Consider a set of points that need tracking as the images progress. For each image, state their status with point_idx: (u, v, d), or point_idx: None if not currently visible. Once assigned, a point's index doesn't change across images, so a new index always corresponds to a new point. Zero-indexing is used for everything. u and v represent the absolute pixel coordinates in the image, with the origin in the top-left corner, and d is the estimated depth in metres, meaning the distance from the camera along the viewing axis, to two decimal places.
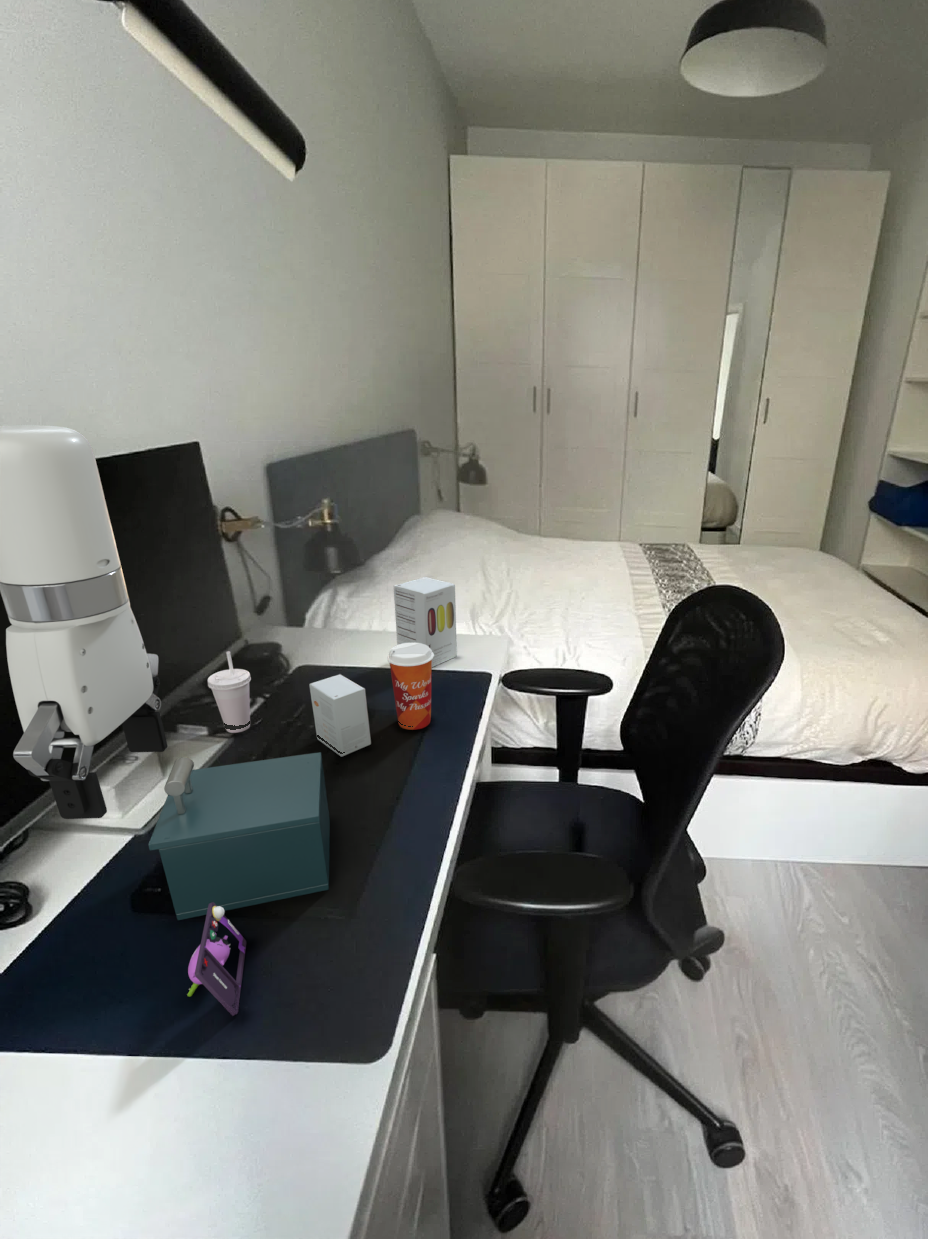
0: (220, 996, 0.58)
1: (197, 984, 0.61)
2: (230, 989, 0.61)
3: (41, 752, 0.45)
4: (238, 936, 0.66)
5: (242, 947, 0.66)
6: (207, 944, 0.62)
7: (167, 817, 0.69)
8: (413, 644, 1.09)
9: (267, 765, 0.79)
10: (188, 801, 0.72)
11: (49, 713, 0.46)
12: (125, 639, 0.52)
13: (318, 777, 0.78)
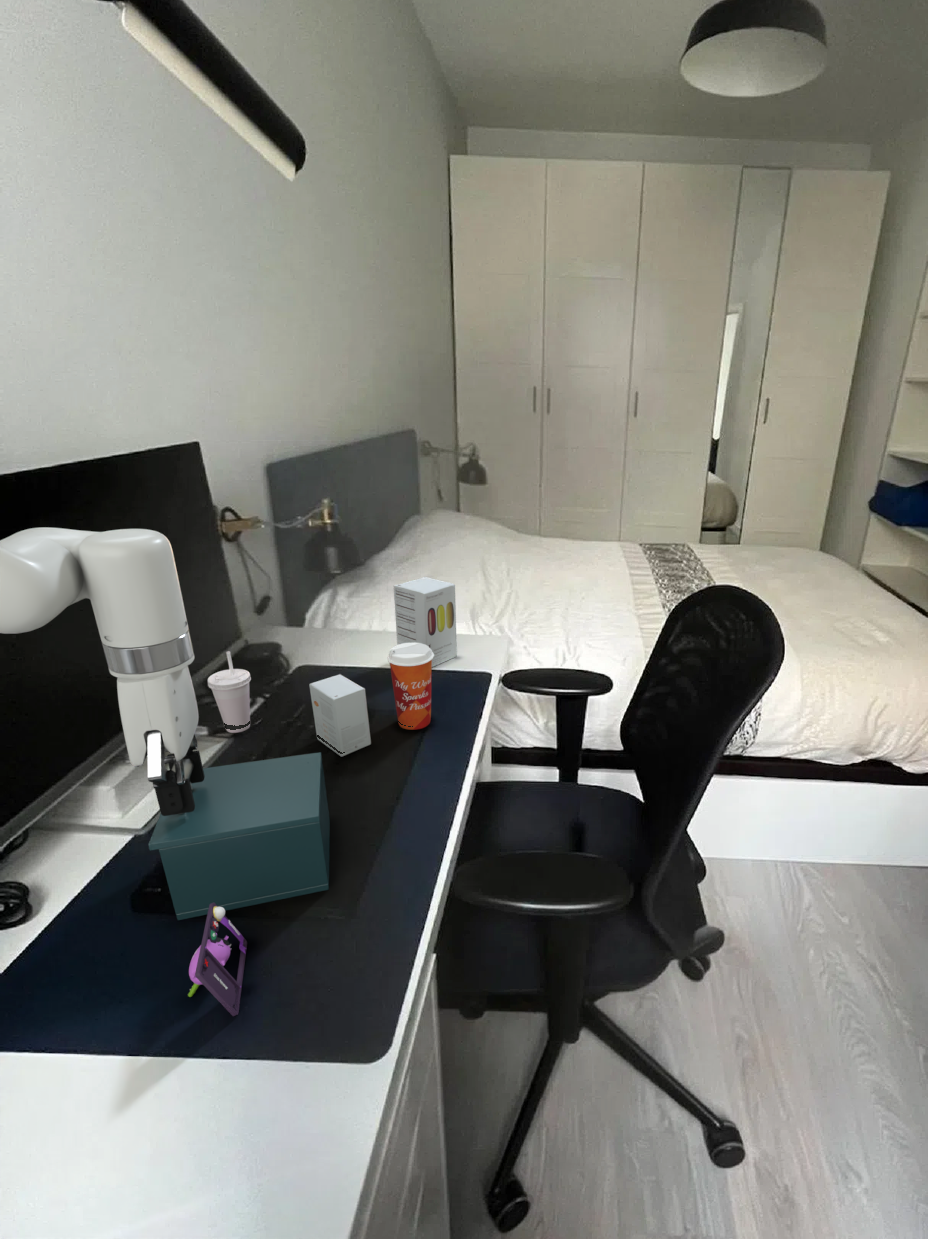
0: (221, 997, 0.58)
1: (198, 984, 0.61)
2: (231, 990, 0.61)
3: (163, 772, 0.64)
4: (239, 936, 0.66)
5: (242, 948, 0.66)
6: (208, 944, 0.62)
7: (167, 817, 0.69)
8: (413, 644, 1.09)
9: (267, 765, 0.79)
10: None
11: (158, 744, 0.64)
12: (188, 680, 0.69)
13: (318, 777, 0.78)
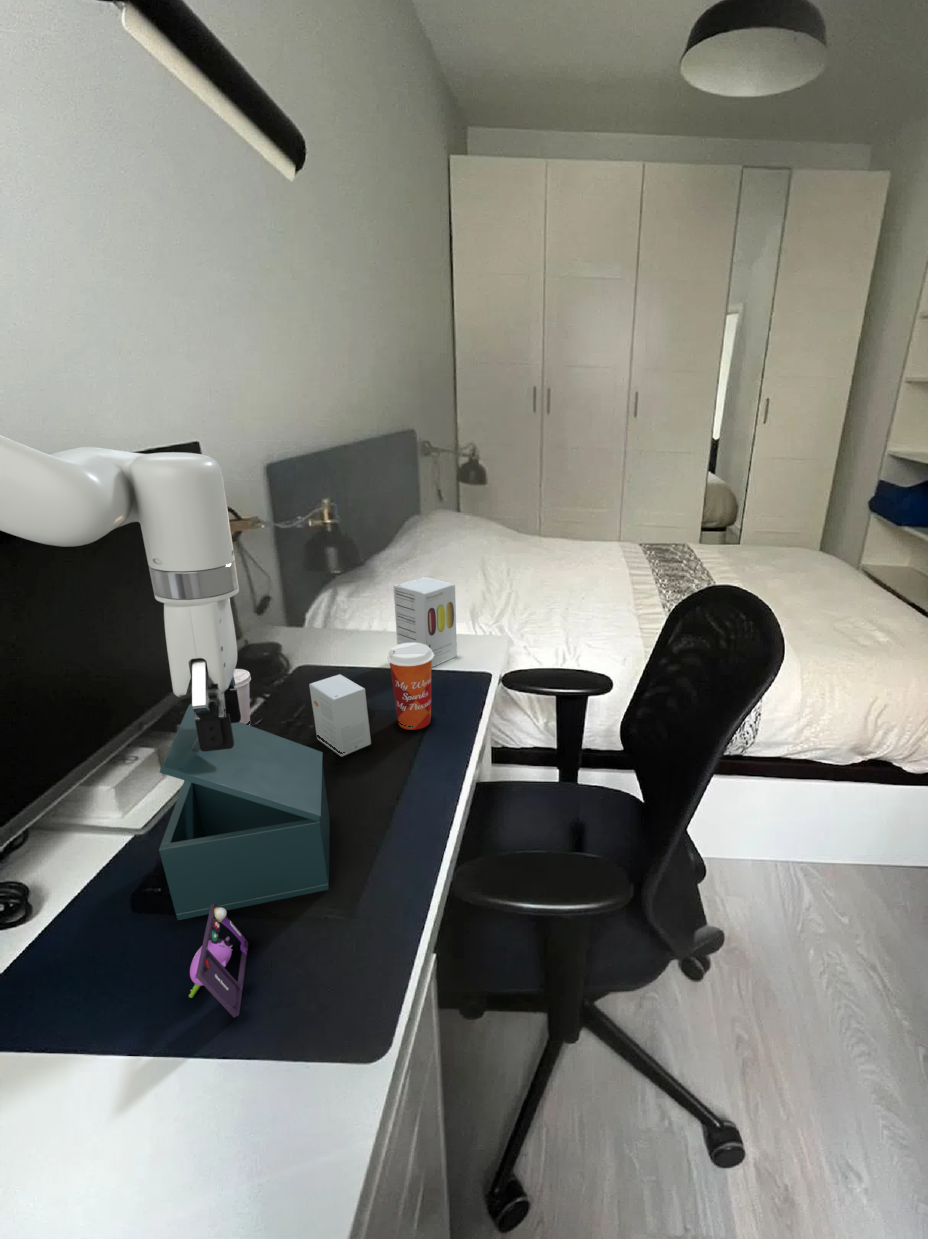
0: (221, 998, 0.58)
1: (199, 985, 0.61)
2: (231, 991, 0.61)
3: (207, 702, 0.63)
4: (240, 937, 0.66)
5: (244, 948, 0.66)
6: (209, 945, 0.62)
7: (181, 747, 0.67)
8: (413, 644, 1.09)
9: (274, 740, 0.79)
10: None
11: (202, 673, 0.62)
12: (231, 613, 0.68)
13: (320, 776, 0.78)
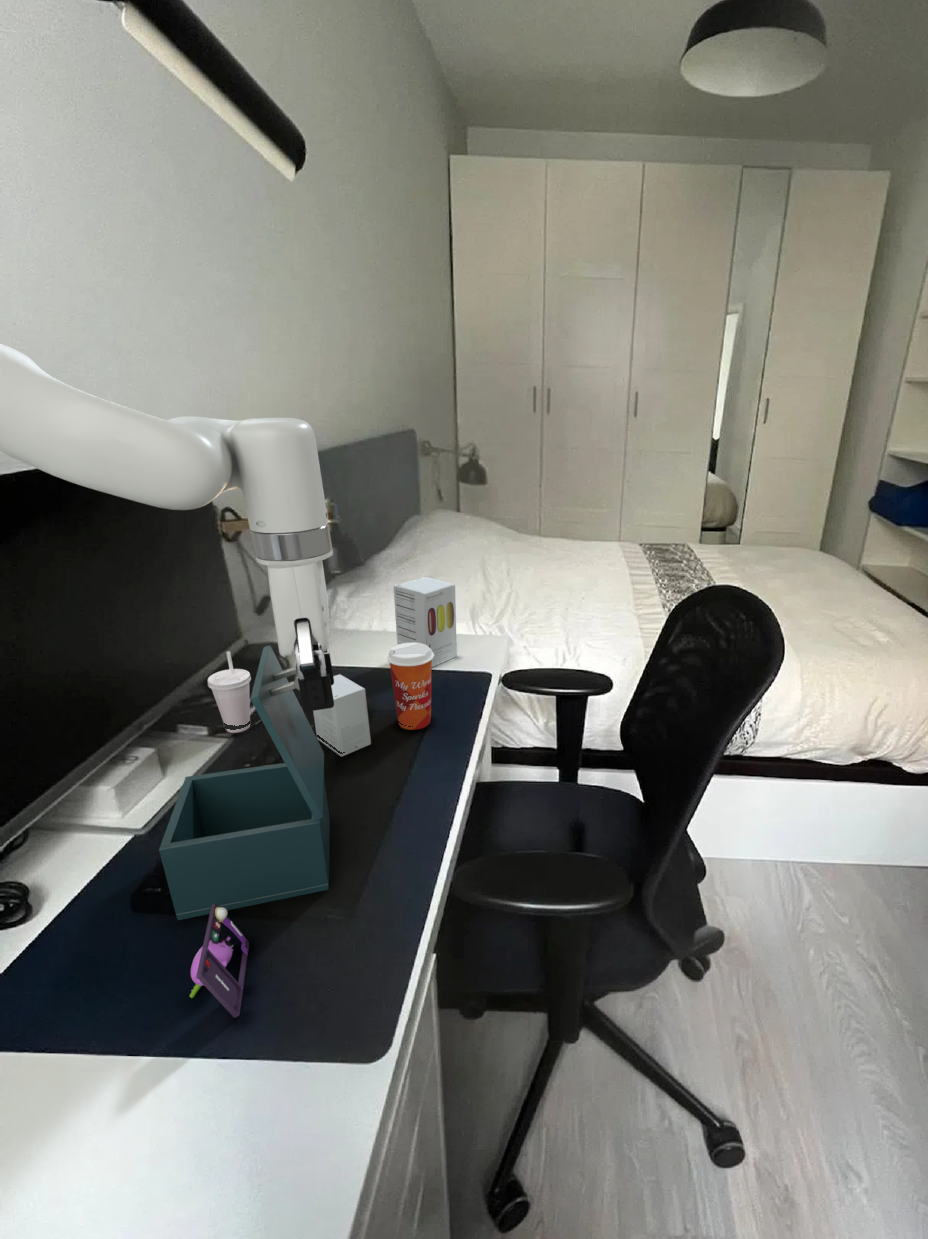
0: (222, 998, 0.58)
1: (199, 985, 0.61)
2: (232, 991, 0.61)
3: (313, 660, 0.65)
4: (241, 937, 0.66)
5: (244, 949, 0.66)
6: (210, 945, 0.62)
7: (266, 684, 0.68)
8: (413, 644, 1.09)
9: (304, 720, 0.79)
10: (274, 686, 0.71)
11: (307, 632, 0.64)
12: None
13: (323, 777, 0.78)
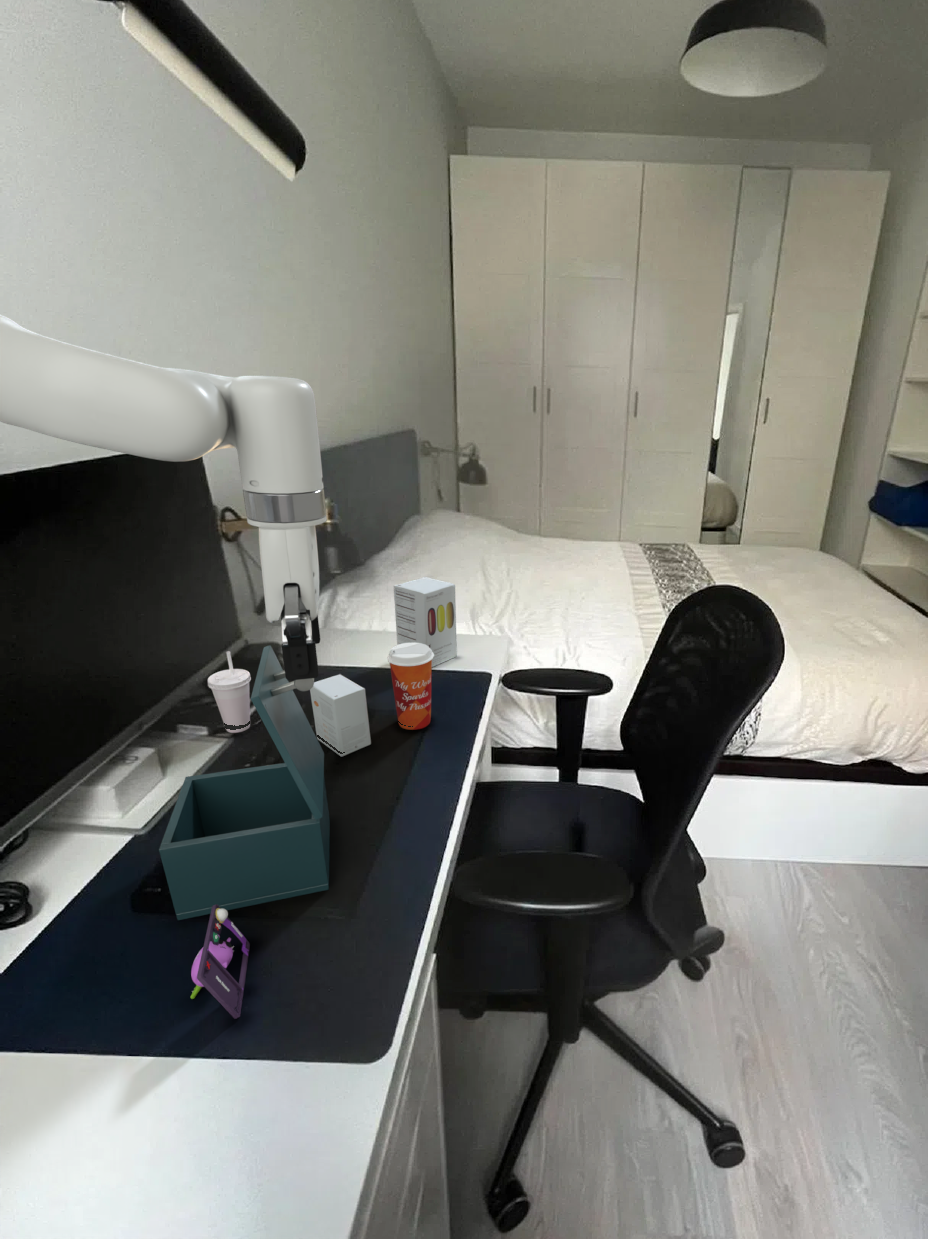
0: (222, 999, 0.58)
1: (200, 986, 0.61)
2: (233, 992, 0.61)
3: (299, 617, 0.61)
4: (241, 938, 0.66)
5: (245, 950, 0.66)
6: (210, 946, 0.62)
7: (266, 684, 0.68)
8: (413, 644, 1.09)
9: (304, 720, 0.79)
10: (274, 686, 0.71)
11: (295, 591, 0.62)
12: None
13: (323, 777, 0.78)
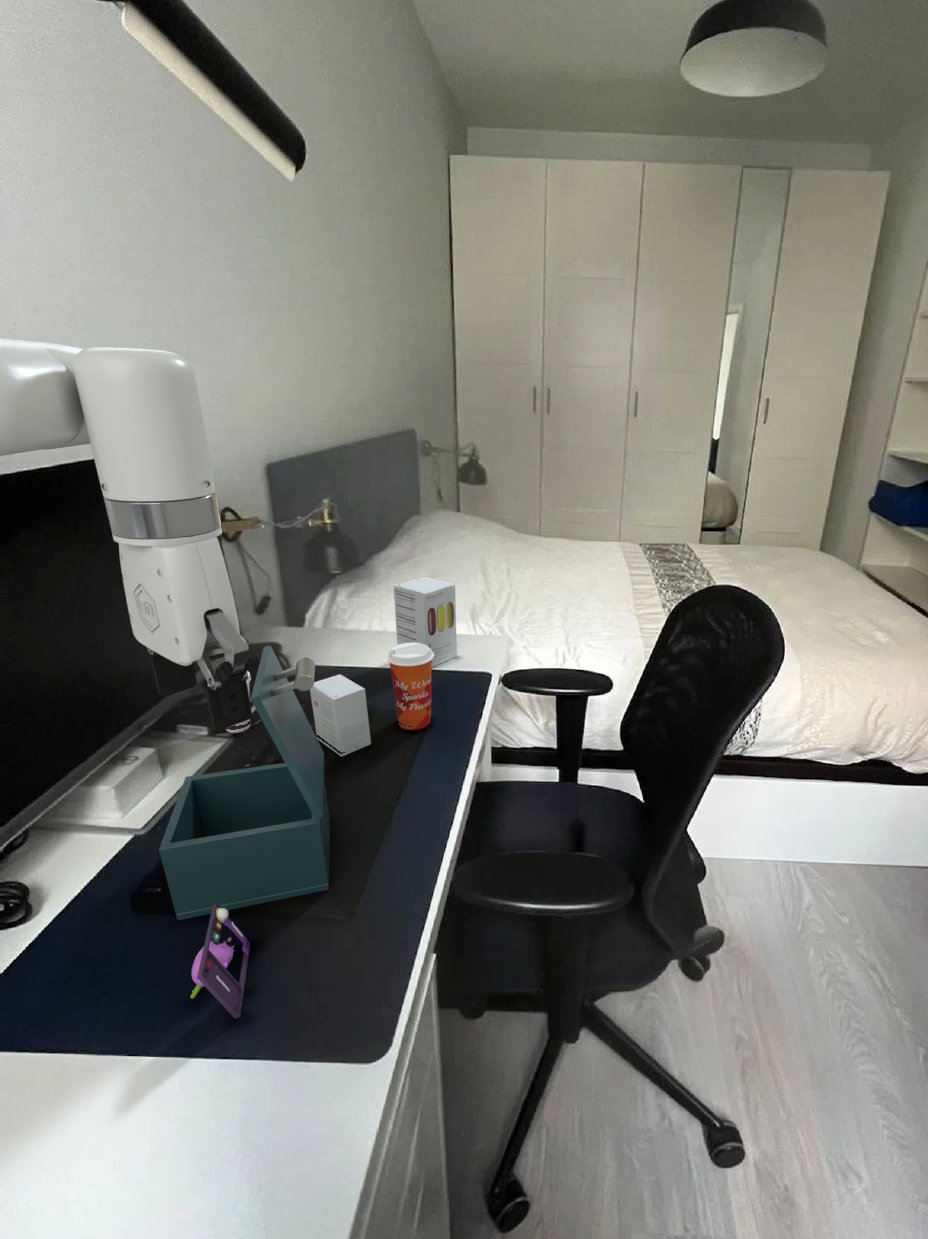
0: (223, 999, 0.58)
1: (200, 986, 0.61)
2: (233, 992, 0.61)
3: None
4: (242, 938, 0.66)
5: (245, 949, 0.66)
6: (211, 946, 0.62)
7: (266, 684, 0.68)
8: (413, 644, 1.09)
9: (304, 720, 0.79)
10: (274, 686, 0.71)
11: (222, 618, 0.50)
12: None
13: (323, 777, 0.78)
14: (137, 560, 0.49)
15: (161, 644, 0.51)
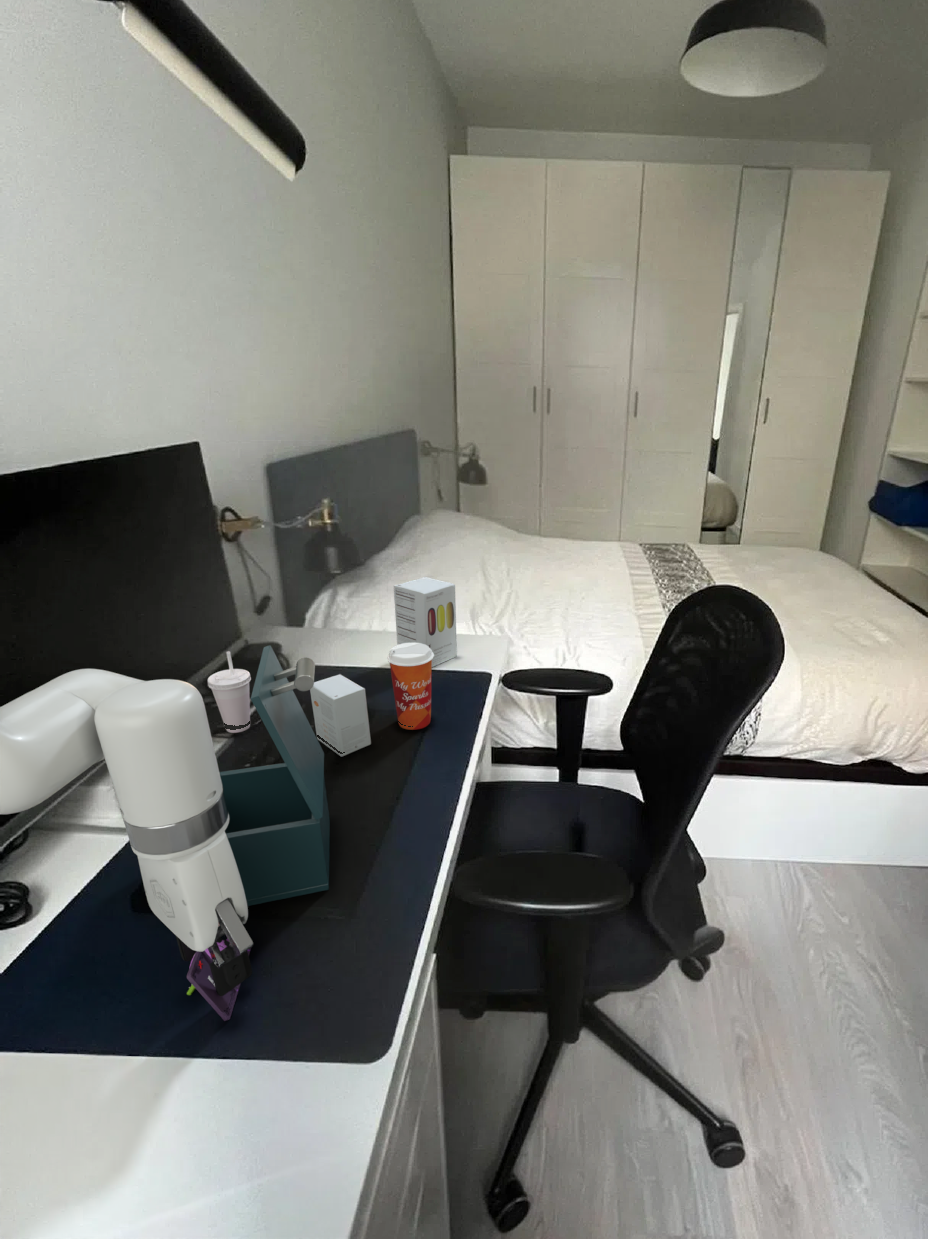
0: (212, 1000, 0.58)
1: None
2: None
3: None
4: None
5: None
6: None
7: (266, 684, 0.68)
8: (413, 644, 1.09)
9: (304, 720, 0.79)
10: (274, 686, 0.71)
11: (232, 912, 0.56)
12: None
13: (323, 777, 0.78)
14: (153, 863, 0.54)
15: (176, 929, 0.56)
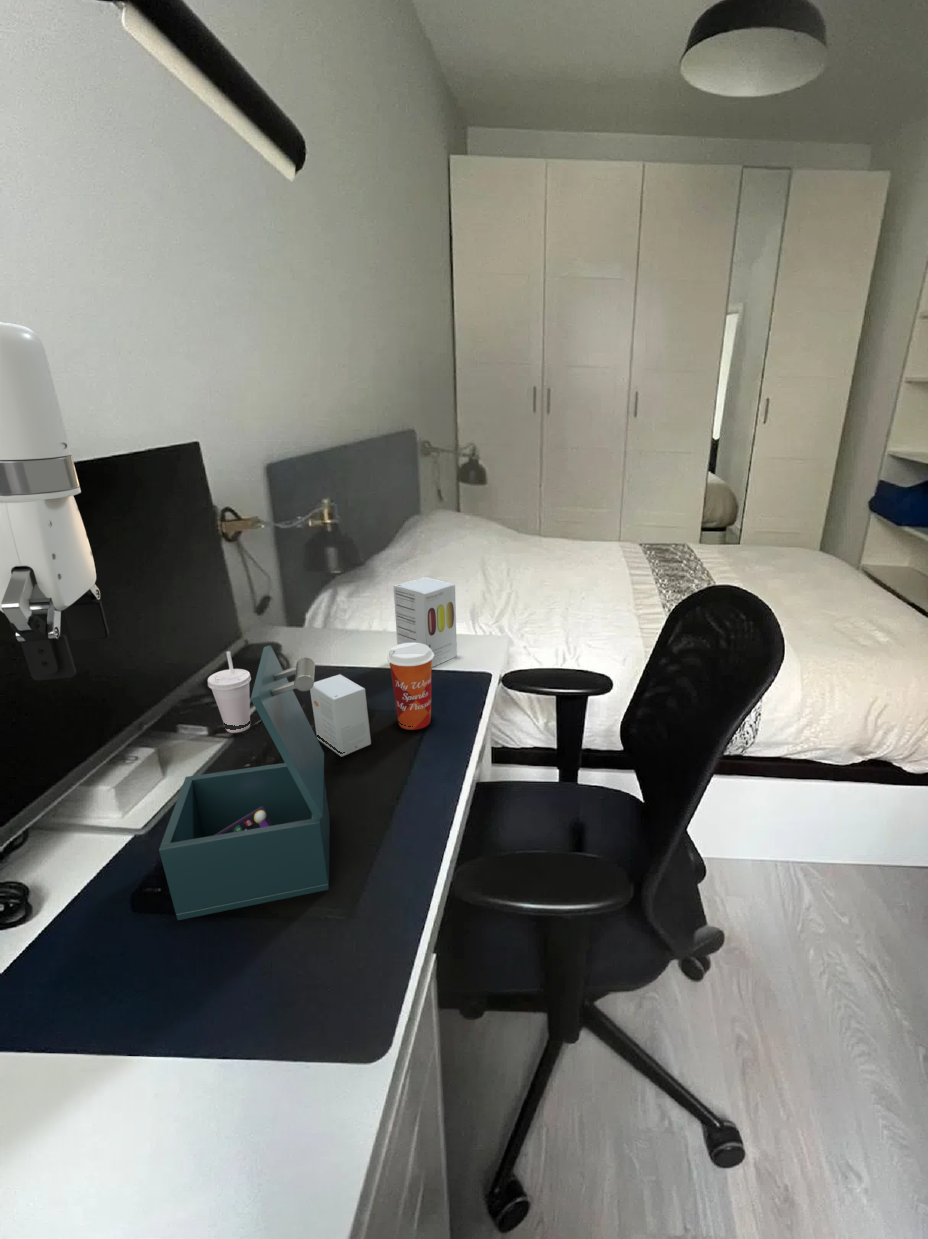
0: None
1: None
2: None
3: (25, 606, 0.52)
4: None
5: None
6: None
7: (266, 684, 0.68)
8: (413, 644, 1.09)
9: (304, 720, 0.79)
10: (274, 686, 0.71)
11: (25, 576, 0.53)
12: (76, 522, 0.59)
13: (323, 777, 0.78)
14: None
15: None
